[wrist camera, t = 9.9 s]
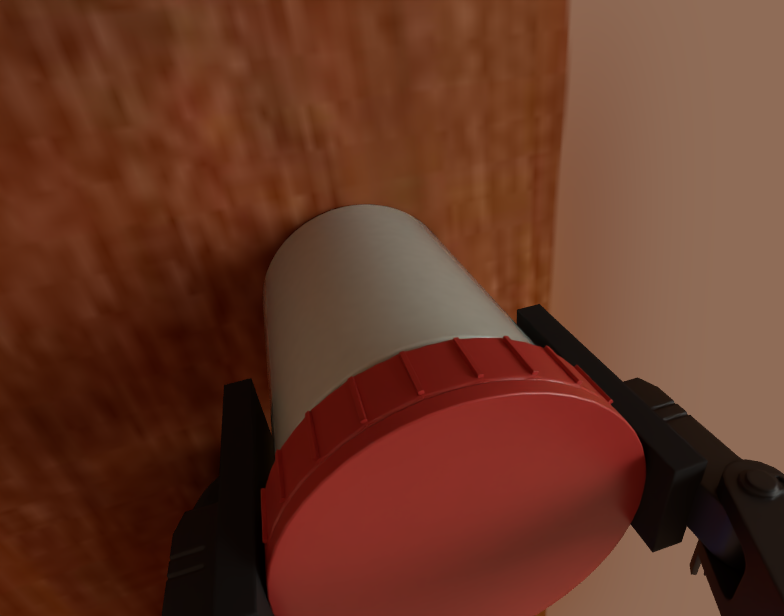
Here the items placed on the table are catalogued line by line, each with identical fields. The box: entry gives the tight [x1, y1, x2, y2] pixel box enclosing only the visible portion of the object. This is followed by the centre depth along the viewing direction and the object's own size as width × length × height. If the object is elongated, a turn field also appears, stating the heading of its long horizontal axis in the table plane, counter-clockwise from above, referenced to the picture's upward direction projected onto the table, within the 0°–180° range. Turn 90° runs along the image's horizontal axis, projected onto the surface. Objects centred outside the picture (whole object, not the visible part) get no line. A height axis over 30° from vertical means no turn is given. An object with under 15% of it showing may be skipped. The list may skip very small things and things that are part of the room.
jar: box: [262, 205, 536, 462], centre depth 15 cm, size 8×8×10 cm
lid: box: [261, 336, 646, 616], centre depth 11 cm, size 8×8×2 cm
